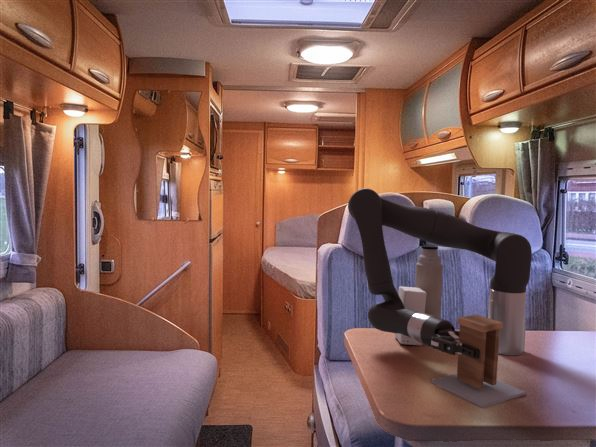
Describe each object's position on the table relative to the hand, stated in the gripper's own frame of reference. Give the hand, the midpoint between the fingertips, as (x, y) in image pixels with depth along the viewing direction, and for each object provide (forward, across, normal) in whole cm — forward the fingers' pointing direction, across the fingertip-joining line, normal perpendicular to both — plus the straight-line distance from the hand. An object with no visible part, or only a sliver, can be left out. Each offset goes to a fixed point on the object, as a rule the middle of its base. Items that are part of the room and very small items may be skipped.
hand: (487, 352), depth 98 cm
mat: (-2, 0, +9) cm, 9 cm away
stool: (-3, 0, +8) cm, 8 cm away
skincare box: (-34, +9, +9) cm, 37 cm away
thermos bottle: (-36, +19, +10) cm, 42 cm away
